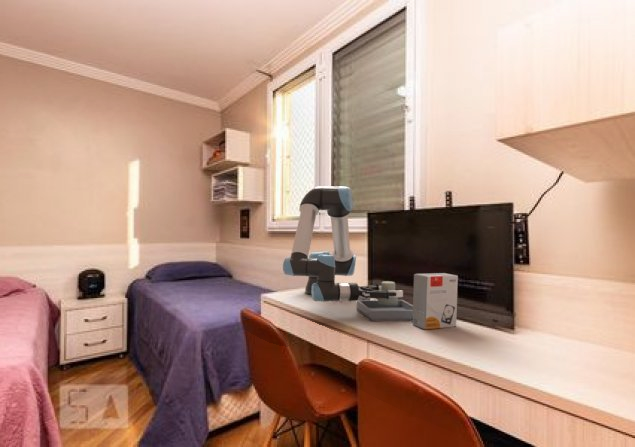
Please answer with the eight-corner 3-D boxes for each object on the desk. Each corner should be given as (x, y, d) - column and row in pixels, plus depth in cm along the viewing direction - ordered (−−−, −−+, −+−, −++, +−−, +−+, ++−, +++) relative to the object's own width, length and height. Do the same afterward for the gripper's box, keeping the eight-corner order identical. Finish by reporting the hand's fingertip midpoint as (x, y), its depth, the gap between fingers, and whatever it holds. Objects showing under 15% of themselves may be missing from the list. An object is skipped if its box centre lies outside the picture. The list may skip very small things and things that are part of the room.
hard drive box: (424, 330, 125) (425, 276, 126) (411, 324, 132) (412, 273, 133) (457, 326, 131) (458, 275, 131) (443, 321, 138) (444, 272, 138)
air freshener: (379, 302, 154) (379, 279, 154) (397, 303, 152) (398, 281, 152) (377, 307, 143) (377, 283, 143) (397, 309, 141) (397, 284, 141)
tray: (356, 309, 156) (356, 300, 156) (402, 308, 159) (402, 299, 159) (370, 321, 136) (371, 311, 136) (422, 320, 140) (422, 310, 140)
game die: (365, 313, 163) (365, 299, 158) (351, 304, 168) (351, 290, 162) (375, 302, 169) (376, 288, 163) (361, 293, 173) (362, 279, 167)
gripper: (341, 295, 156) (387, 294, 159) (355, 306, 133) (408, 305, 137) (341, 278, 156) (388, 278, 160) (355, 287, 134) (408, 287, 137)
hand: (397, 291), depth 148 cm, fingers closed on air freshener, 10 cm apart
